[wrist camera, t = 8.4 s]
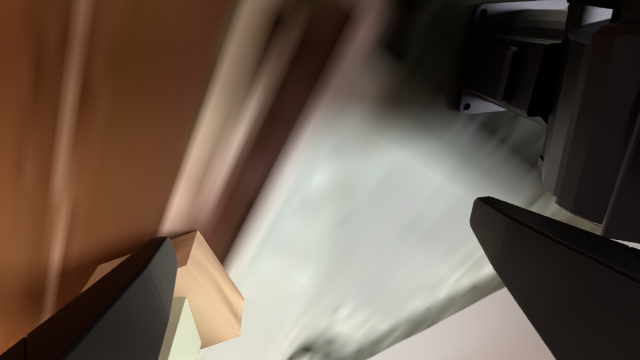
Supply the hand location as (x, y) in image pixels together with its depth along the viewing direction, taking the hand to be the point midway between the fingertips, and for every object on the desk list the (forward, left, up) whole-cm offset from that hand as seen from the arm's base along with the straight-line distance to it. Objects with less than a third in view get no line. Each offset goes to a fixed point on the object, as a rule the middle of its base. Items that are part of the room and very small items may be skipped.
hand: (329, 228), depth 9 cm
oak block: (+11, +13, -13) cm, 22 cm away
